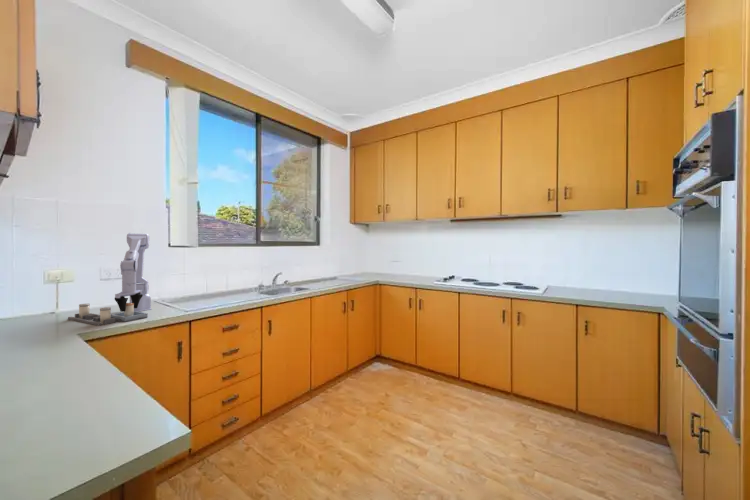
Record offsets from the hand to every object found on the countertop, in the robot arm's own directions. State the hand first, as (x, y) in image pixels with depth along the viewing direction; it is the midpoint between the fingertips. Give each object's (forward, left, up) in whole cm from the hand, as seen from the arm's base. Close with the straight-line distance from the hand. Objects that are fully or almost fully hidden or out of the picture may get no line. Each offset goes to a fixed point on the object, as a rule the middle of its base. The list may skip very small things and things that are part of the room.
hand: (129, 309), depth 167 cm
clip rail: (+10, -10, -4) cm, 15 cm away
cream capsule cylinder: (+10, -19, -4) cm, 22 cm away
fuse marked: (0, 0, -4) cm, 4 cm away
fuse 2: (+10, -1, -4) cm, 11 cm away
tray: (0, 0, -4) cm, 4 cm away
